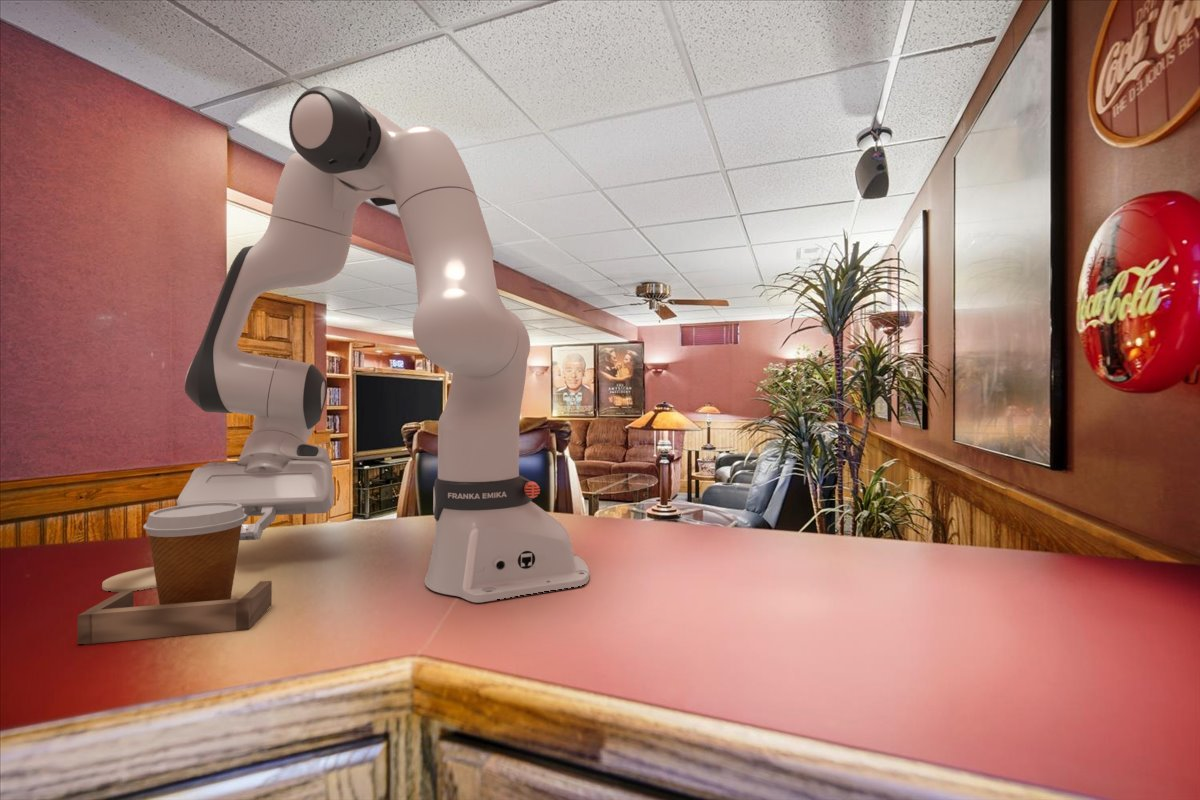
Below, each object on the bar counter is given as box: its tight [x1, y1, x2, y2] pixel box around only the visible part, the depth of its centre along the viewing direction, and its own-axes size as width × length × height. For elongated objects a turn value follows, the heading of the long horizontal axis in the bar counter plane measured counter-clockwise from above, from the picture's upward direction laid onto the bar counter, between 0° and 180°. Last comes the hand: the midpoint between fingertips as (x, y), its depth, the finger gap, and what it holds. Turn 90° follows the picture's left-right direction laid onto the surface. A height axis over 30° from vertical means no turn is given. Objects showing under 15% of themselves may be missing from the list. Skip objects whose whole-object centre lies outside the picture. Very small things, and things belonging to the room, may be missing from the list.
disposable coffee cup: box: [143, 502, 247, 605], centre depth 61 cm, size 10×10×12 cm
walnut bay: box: [77, 580, 273, 645], centre depth 58 cm, size 15×7×3 cm, turn 104°
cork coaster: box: [101, 566, 157, 593], centre depth 72 cm, size 9×9×1 cm
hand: (246, 538), depth 75 cm, fingers closed
